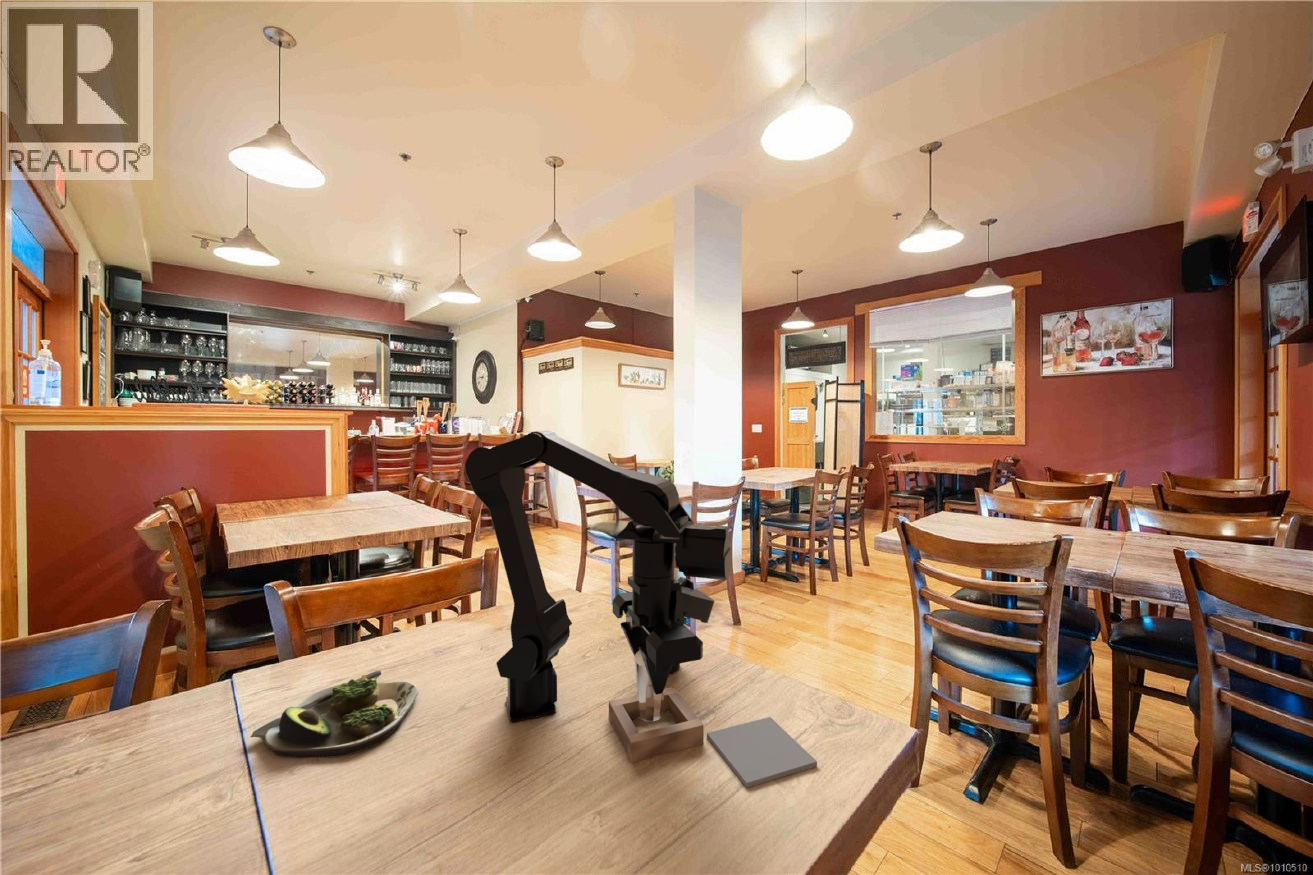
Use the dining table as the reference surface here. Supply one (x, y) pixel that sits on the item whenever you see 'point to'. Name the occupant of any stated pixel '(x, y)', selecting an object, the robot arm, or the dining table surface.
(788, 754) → the mat
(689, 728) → the collar
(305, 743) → the salad plate
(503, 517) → the robot arm
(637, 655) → the milkshake
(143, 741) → the dining table surface
